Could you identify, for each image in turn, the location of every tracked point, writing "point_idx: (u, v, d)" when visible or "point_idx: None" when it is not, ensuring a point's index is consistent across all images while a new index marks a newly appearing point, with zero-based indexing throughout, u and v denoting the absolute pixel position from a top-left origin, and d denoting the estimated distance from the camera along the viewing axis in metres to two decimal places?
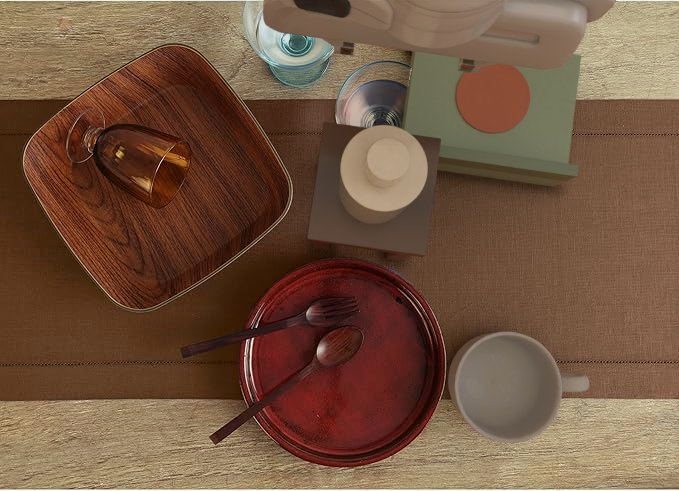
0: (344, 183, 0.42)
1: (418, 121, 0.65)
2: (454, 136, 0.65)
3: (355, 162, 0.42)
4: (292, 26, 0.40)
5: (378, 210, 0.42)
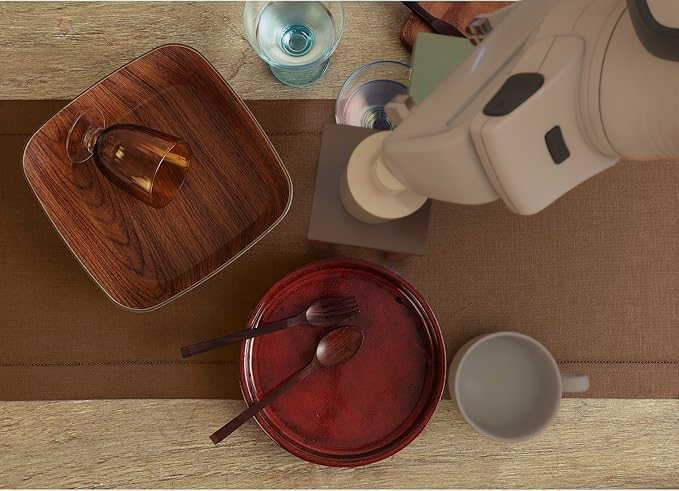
0: (351, 190, 0.41)
1: None
2: None
3: (362, 168, 0.41)
4: None
5: (384, 217, 0.41)
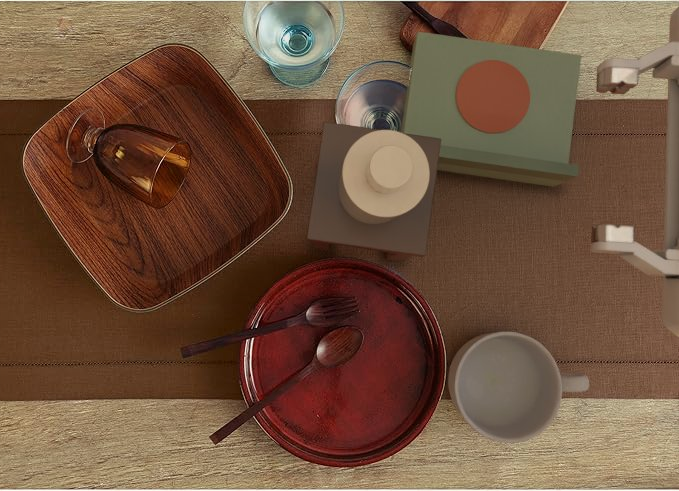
0: (347, 192, 0.41)
1: (418, 121, 0.65)
2: (454, 136, 0.65)
3: (357, 169, 0.41)
4: None
5: (383, 216, 0.42)
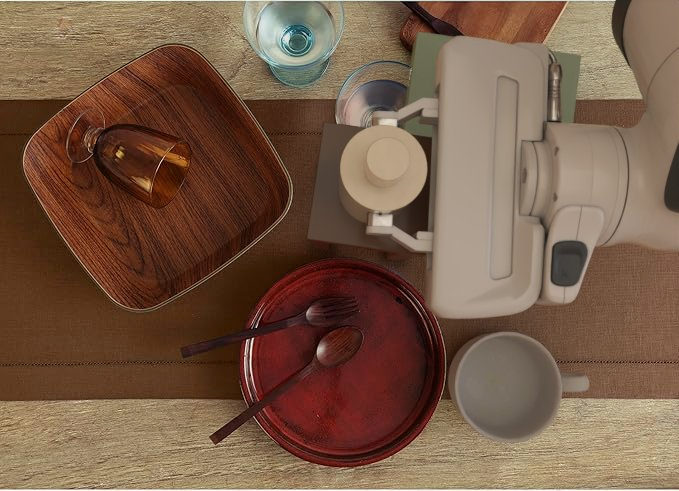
0: (346, 188, 0.42)
1: None
2: None
3: (354, 165, 0.42)
4: None
5: (383, 210, 0.42)
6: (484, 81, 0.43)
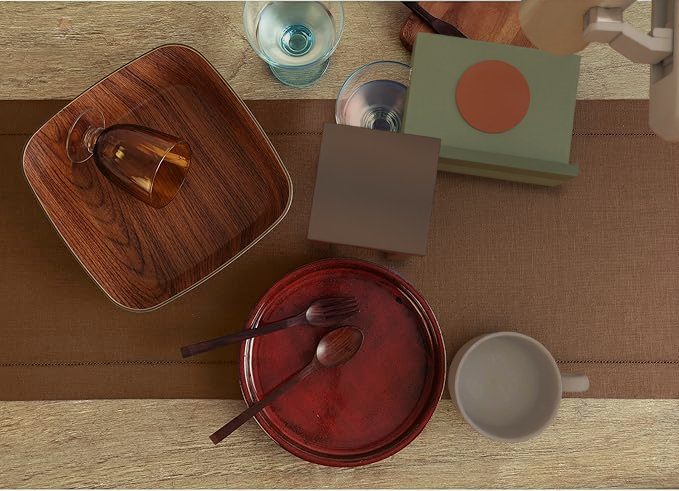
0: None
1: (418, 121, 0.65)
2: (454, 136, 0.65)
3: None
4: None
5: None
6: None
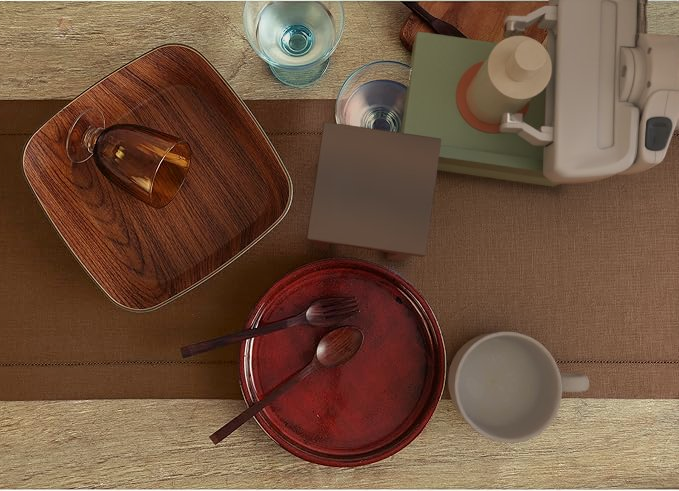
0: (492, 82, 0.56)
1: (418, 121, 0.65)
2: (454, 136, 0.65)
3: (498, 65, 0.56)
4: None
5: (520, 98, 0.56)
6: (591, 2, 0.57)
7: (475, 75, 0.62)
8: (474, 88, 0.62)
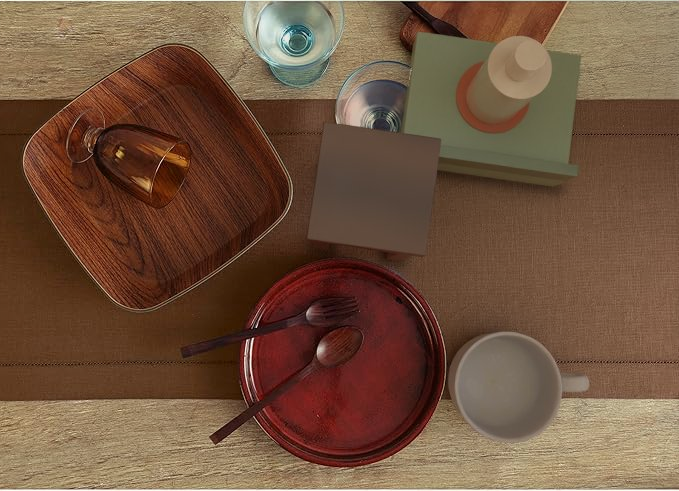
0: (492, 82, 0.56)
1: (418, 121, 0.65)
2: (454, 136, 0.65)
3: (498, 65, 0.56)
4: None
5: (520, 98, 0.56)
6: None
7: (475, 75, 0.62)
8: (474, 88, 0.62)
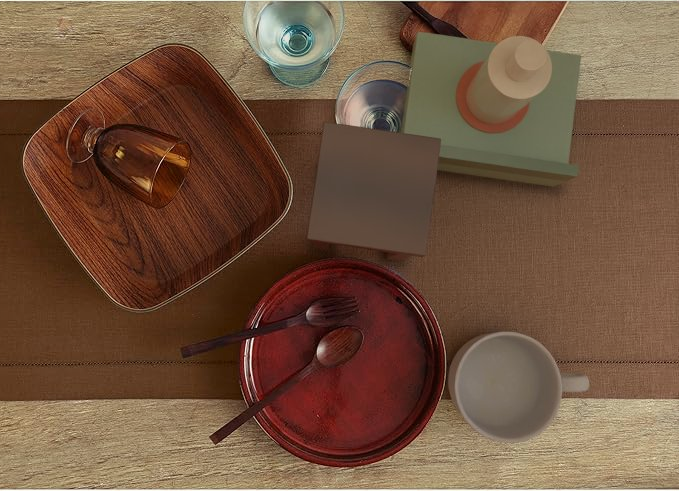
0: (492, 82, 0.56)
1: (418, 121, 0.65)
2: (454, 136, 0.65)
3: (498, 65, 0.56)
4: None
5: (520, 98, 0.56)
6: None
7: (475, 75, 0.62)
8: (474, 88, 0.62)
